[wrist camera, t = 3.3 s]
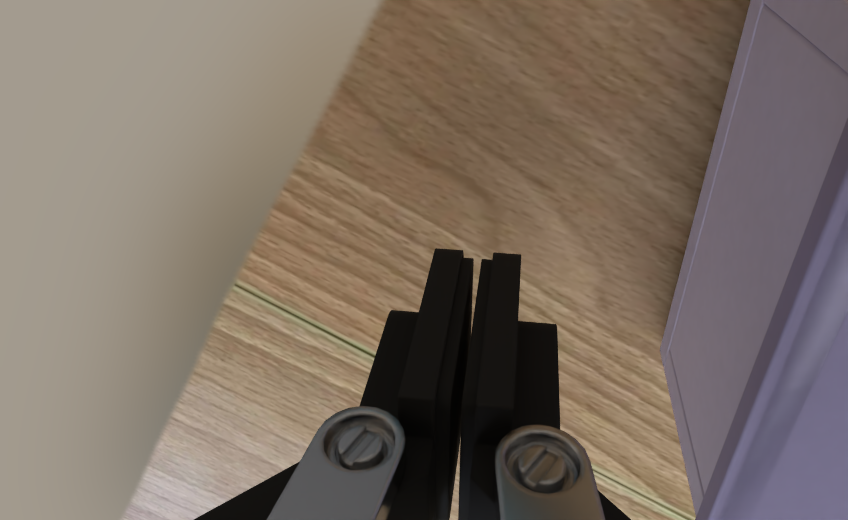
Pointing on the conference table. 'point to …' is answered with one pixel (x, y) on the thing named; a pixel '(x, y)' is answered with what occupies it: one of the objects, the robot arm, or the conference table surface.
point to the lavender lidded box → (770, 280)
